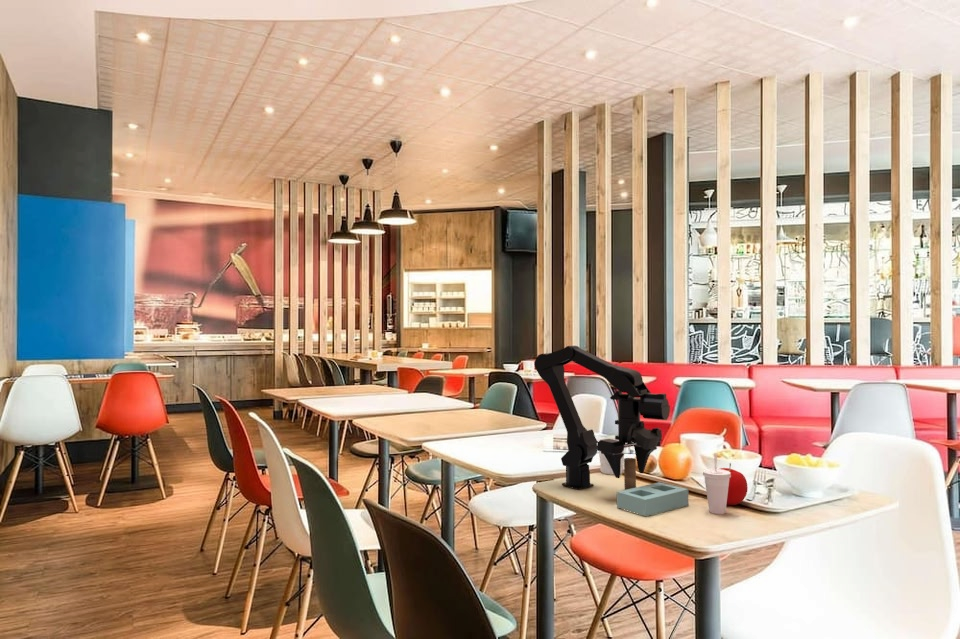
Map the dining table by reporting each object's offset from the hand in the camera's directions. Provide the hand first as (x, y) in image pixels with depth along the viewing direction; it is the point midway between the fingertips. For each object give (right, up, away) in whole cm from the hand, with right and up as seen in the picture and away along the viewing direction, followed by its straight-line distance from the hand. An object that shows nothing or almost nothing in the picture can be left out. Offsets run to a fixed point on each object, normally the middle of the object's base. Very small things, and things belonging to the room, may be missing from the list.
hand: (629, 475), depth 167 cm
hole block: (+3, -5, -11) cm, 13 cm away
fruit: (+23, -5, -9) cm, 25 cm away
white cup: (+1, -6, +26) cm, 26 cm away
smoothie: (+17, -5, -16) cm, 24 cm away
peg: (0, -5, 0) cm, 5 cm away
